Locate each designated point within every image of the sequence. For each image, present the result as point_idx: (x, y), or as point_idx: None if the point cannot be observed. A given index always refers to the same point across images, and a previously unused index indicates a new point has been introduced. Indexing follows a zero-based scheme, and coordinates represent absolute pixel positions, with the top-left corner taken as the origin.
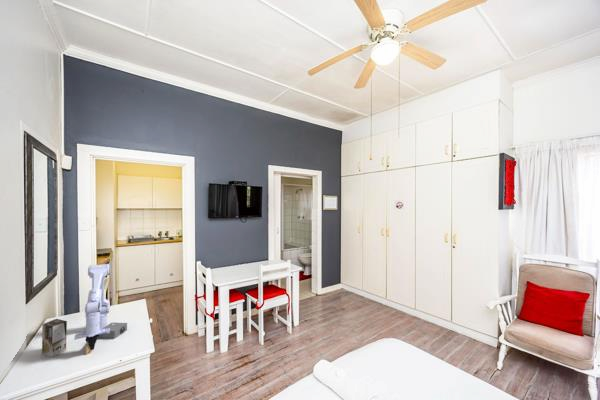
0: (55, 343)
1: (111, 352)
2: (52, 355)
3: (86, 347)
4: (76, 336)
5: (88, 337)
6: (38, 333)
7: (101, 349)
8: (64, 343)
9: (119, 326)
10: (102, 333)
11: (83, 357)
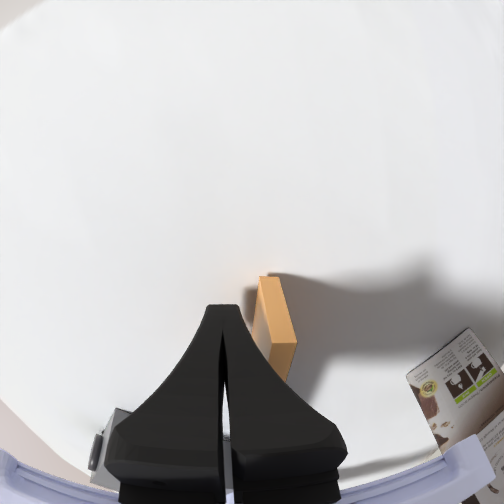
0: (499, 402)
1: (23, 200)
2: (472, 335)
3: (291, 334)
4: (479, 482)
5: (296, 486)
6: (428, 456)
7: (144, 311)
8: (439, 414)
9: (111, 480)
10: (71, 487)
11: (294, 224)
